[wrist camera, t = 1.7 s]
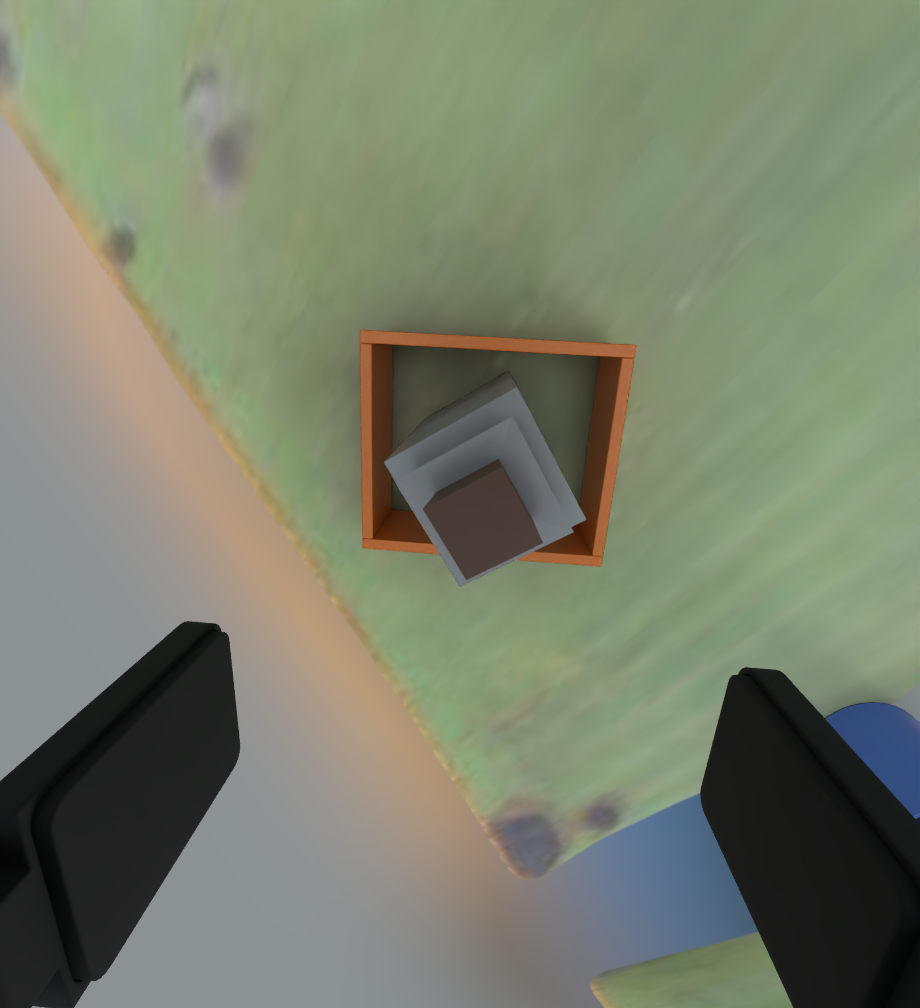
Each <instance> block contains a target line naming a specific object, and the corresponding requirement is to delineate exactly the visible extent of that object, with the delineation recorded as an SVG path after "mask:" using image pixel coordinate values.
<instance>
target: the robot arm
mask: <svg viewBox="0 0 920 1008" xmlns="http://www.w3.org/2000/svg"><path fill="white" fill-rule="evenodd" d="M237 720H238V719H237V710H236V700H235V690H234V681H233V671H232V662H231V652H230V642H229V637H228V635H227V633H225V632H221V628H220V627H219V625H217V624H213V623H202V622H189V621H187V622H184V623H182V624H180V625H179V626H178V627H177V628H175V629H174V630H173V631H172V632H171V633H170V634H169V635H167V636H166V637H165V638H164V639H163V640H162V641H160V643H158V644H157V645H156V646H155V647H154V648H153V649H152V650H150V651H149V652H148V653H147V654H146V655H145V656H143V657H142V658H141V659H140V660H139V661H138V662H136V663H135V664H134V665H133V666H132V667H131V668H130V669H128V670H127V671H126V672H125V673H124V674H123V675H121V676H120V677H119V678H118V679H117V680H116V681H115V682H113V683H112V684H111V685H110V686H109V687H108V688H107V689H106V690H104V691H103V692H102V693H101V694H100V695H99V696H97V697H96V698H95V699H94V700H93V701H92V702H91V703H89V704H88V705H87V706H86V707H85V708H84V709H82V710H81V711H80V712H79V713H78V714H77V715H76V716H75V717H73V718H72V719H71V720H70V721H69V722H68V723H66V724H65V725H64V726H63V727H62V728H61V729H60V730H58V731H57V732H56V733H55V734H54V735H53V736H52V737H50V738H49V739H48V740H47V741H46V742H45V743H43V744H42V745H41V746H40V747H39V748H38V749H37V750H35V751H34V752H33V753H32V754H31V755H30V756H29V757H27V758H26V759H25V760H24V761H23V762H22V763H20V764H19V765H18V766H17V767H16V768H15V769H14V770H13V771H11V772H10V773H9V774H8V775H7V776H6V777H4V778H3V779H2V780H1V781H0V1008H31V1007H32V1006H38V1007H47V1008H74V1007H75V1005H76V1004H77V1002H78V1000H79V999H80V997H81V996H82V994H83V993H84V991H85V990H86V988H87V986H88V985H89V983H90V982H91V981H96V980H98V979H100V978H101V977H102V976H103V975H104V974H105V973H106V972H107V970H108V969H109V968H110V966H111V965H112V963H113V962H114V960H115V958H116V956H117V955H118V953H119V952H120V950H121V949H122V947H123V945H124V944H125V942H126V941H127V938H128V937H129V936H130V934H131V933H132V931H133V929H134V928H135V926H136V924H137V923H138V921H139V920H140V918H141V917H142V915H143V913H144V912H145V910H146V908H147V907H148V905H149V903H150V902H151V900H152V899H153V897H154V896H155V894H156V892H157V891H158V889H159V888H160V886H161V884H162V883H163V881H164V880H165V878H166V876H167V875H168V873H169V871H170V870H171V868H172V867H173V865H174V863H175V862H176V860H177V859H178V857H179V855H180V854H181V852H182V851H183V849H184V847H185V846H186V844H187V843H188V841H189V839H190V838H191V836H192V834H193V833H194V831H195V830H196V828H197V826H198V825H199V823H200V822H201V820H202V818H203V817H204V815H205V814H206V812H207V810H208V809H209V807H210V806H211V804H212V802H213V801H214V799H215V797H216V796H217V794H218V792H219V791H220V790H221V788H222V786H223V784H224V783H225V781H226V780H227V778H228V777H229V775H230V773H231V772H232V770H233V769H234V767H235V765H236V762H237V760H238V756H239V752H240V739H239V730H238V721H237ZM701 803H702V808H703V811H704V814H705V816H706V818H707V820H708V822H709V824H710V827H711V829H712V831H713V833H714V835H715V838H716V840H717V842H718V844H719V846H720V849H721V851H722V853H723V855H724V857H725V859H726V862H727V864H728V866H729V868H730V870H731V872H732V875H733V877H734V879H735V881H736V883H737V886H738V887H739V890H740V892H741V894H742V897H743V899H744V901H745V903H746V905H747V907H748V909H749V912H750V914H751V916H752V918H753V920H754V923H755V925H756V927H757V929H758V931H759V934H760V936H761V938H762V940H763V942H764V944H765V947H766V949H767V951H768V953H769V955H770V958H771V960H772V962H773V964H774V966H775V968H776V971H777V973H778V975H779V977H780V979H781V982H782V984H783V986H784V988H785V990H786V992H787V995H788V997H789V999H790V1001H791V1003H792V1006H793V1008H920V823H919V822H918V821H917V820H916V819H915V818H914V817H913V816H912V814H911V813H910V812H909V811H908V810H907V809H906V808H905V807H904V806H903V804H902V803H901V802H900V801H899V800H898V799H897V798H896V797H895V796H894V795H893V793H892V792H891V791H890V790H889V789H888V788H887V787H886V786H885V785H884V783H883V782H882V781H881V780H880V779H879V778H878V777H877V776H876V775H875V774H874V772H873V771H872V770H871V769H870V768H869V767H868V766H867V765H866V764H865V763H864V761H863V760H862V759H861V758H860V757H859V756H858V755H857V754H856V753H855V751H854V750H853V749H852V748H851V747H850V746H849V745H848V744H847V743H846V742H845V740H844V739H843V738H842V737H841V736H840V735H839V734H838V733H837V732H836V730H835V729H834V728H833V727H832V726H831V725H830V724H829V723H828V722H827V721H826V719H825V718H824V717H823V716H822V715H821V714H820V713H819V712H818V711H817V710H816V708H815V707H814V706H813V705H812V704H811V703H810V702H809V701H808V700H807V698H806V697H805V696H804V695H803V694H802V693H801V692H800V691H799V690H798V689H797V687H796V686H795V685H794V684H793V683H792V682H791V681H790V680H789V679H788V677H787V676H786V675H785V674H783V673H782V672H781V671H778V670H772V669H760V668H748V667H745V668H742V669H741V670H740V672H739V674H738V675H732V676H731V677H730V679H729V682H728V686H727V689H726V693H725V697H724V701H723V705H722V709H721V713H720V716H719V720H718V724H717V728H716V732H715V736H714V740H713V743H712V747H711V751H710V755H709V759H708V763H707V767H706V770H705V774H704V778H703V782H702V786H701Z"/></svg>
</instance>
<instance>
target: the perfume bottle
mask: <svg viewBox="0 0 920 1008" xmlns="http://www.w3.org/2000/svg"><path fill="white" fill-rule="evenodd" d="M384 464H385V465H386V467H387V468H388V470H389V472H390V473H391V475H392V477H393V478H394V480H395V481H394V482H395V483H396V485H397V486H398V488H399V490H400V491H401V493H402V495H403V496H404V498H405V499H406V501H407V503H408V504H409V506H410V507H411V509H412V511H413V512H414V514H415V515H416V517H417V519H418V520H419V522H420V524H421V525H422V527H423V528H424V530H425V532H426V533H427V535H428V536H429V538H430V540H431V541H432V543H433V545H434V546H435V548H436V549H437V551H438V553H439V554H440V556H441V557H442V559H443V561H444V562H445V564H446V565H447V567H448V569H449V570H450V572H451V574H452V575H453V577H454V578H455V580H456V582H457V583H458V585H459V586H462V585H465V584H467V583H469V582H471V581H473V580H475V579H477V578H479V577H481V576H483V575H485V574H487V573H490V572H492V571H494V570H496V569H498V568H500V567H502V566H504V565H506V564H508V563H510V562H512V561H515V560H517V559H519V558H521V557H523V556H525V555H527V554H529V553H531V552H533V551H535V550H537V549H540V548H542V547H544V546H546V545H548V544H550V543H552V542H554V541H556V540H558V539H560V538H562V537H565V536H567V535H569V534H571V533H573V532H574V531H573V530H572V528H571V527H572V526H574V525H576V524H578V523H581V522H583V521H585V520H586V518H585V516H584V514H583V512H582V510H581V508H580V506H579V505H578V503H577V501H576V499H575V497H574V495H573V493H572V491H571V489H570V487H569V485H568V483H567V482H566V480H565V478H564V476H563V474H562V472H561V470H560V468H559V466H558V464H557V462H556V460H555V459H554V457H553V455H552V453H551V451H550V449H549V447H548V445H547V443H546V441H545V439H544V437H543V436H542V434H541V432H540V430H539V428H538V426H537V424H536V422H535V420H534V418H533V416H532V414H531V412H530V411H529V409H528V407H527V405H526V403H525V401H524V399H523V397H522V395H521V393H520V391H519V389H518V388H517V386H516V384H515V382H514V380H513V378H512V376H511V374H510V372H509V371H508V372H506V373H504V374H502V375H501V376H499V377H497V378H495V379H494V380H492V381H490V382H488V383H487V384H485V385H483V386H481V387H480V388H478V389H476V390H474V391H473V392H471V393H469V394H467V395H466V396H464V397H462V398H460V399H459V400H457V401H455V402H454V403H452V404H450V405H448V406H447V407H445V408H443V409H441V410H440V411H438V412H436V413H434V414H433V415H431V416H429V417H427V418H426V419H424V420H423V421H422V422H421V423H420V425H419V426H418V427H417V428H416V429H415V430H414V431H413V432H412V433H411V434H410V435H409V436H408V437H407V438H406V439H405V440H404V441H403V442H402V443H401V444H400V446H399V447H398V448H397V449H396V450H395V451H394V452H393V453H392V454H391V455H390V456H389V457H388V458H387V459H386V460H385V461H384Z"/></svg>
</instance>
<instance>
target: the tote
mask: <svg viewBox="0 0 920 1008" xmlns="http://www.w3.org/2000/svg"><path fill="white" fill-rule="evenodd" d="M360 343H361V344H360V373H361V462H362V537H363V539H362V548H366V549H379V550H392V551H405V552H418V553H431V554H439V553H438V551H437V549H436V548H435V546H434V545H433V543H432V541H431V540H430V538H429V536H428V535H427V533H426V532H425V530H424V528H423V527H422V525H421V524H420V522H419V520H418V519H417V517H416V515H415V514H414V512H413V511H401V510H391V487H392V475H391V473H390V472H389V470H388V468H387V467H386V465H385V464H384V461H385V460H386V459H387V458H388V457H389V456H390V455H391V454H392V372H393V345H407V346H425V347H443V348H461V349H478V350H496V351H514V352H532V353H550V354H568V355H586V356H600V360H599V367H598V374H597V382H596V389H595V396H594V404H593V411H592V418H591V425H590V433H589V440H588V447H587V455H586V462H585V469H584V477H583V484H582V491H581V499H580V508H581V510H582V512H583V514H584V516H585V518H586V520H585V521H583V522H581V523H578V524H576V525H574V526H572V527H571V528H572V530H573V531H574V532H573V533H571V534H569V535H567V536H565V537H562V538H560V539H558V540H556V541H554V542H552V543H550V544H548V545H546V546H544V547H542V548H540V549H537V550H535V551H533V552H531V553H529V554H527V555H525V556H523V557H521V558H519V559H517V560H522V561H535V562H548V563H561V564H574V565H587V566H600V567H601V566H602V560H603V554H604V547H605V541H606V535H607V528H608V522H609V516H610V509H611V503H612V497H613V490H614V484H615V478H616V471H617V465H618V459H619V452H620V446H621V440H622V433H623V427H624V421H625V414H626V408H627V402H628V395H629V389H630V383H631V376H632V370H633V364H634V357H635V352H636V345H629V344H610V343H592V342H574V341H555V340H537V339H519V338H500V337H482V336H464V335H445V334H427V333H409V332H390V331H372V330H360Z"/></svg>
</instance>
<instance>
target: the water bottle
mask: <svg viewBox="0 0 920 1008" xmlns="http://www.w3.org/2000/svg"><path fill="white" fill-rule="evenodd" d="M826 721H827V722H828V723H829V724H830V725H831V726H832V727H833V728H834V729H835V730H836V732H837V733H838V734H839V735H840V736H841V737H842V738H843V739H844V740H845V742H846V743H847V744H848V745H849V746H850V747H851V748H852V749H853V750H854V751H855V753H856V754H857V755H858V756H859V757H860V758H861V759H862V760H863V761H864V763H865V764H866V765H867V766H868V767H869V768H870V769H871V770H872V771H873V772H874V774H875V775H876V776H877V777H878V778H879V779H880V780H881V781H882V782H883V783H884V785H885V786H886V787H887V788H888V789H889V790H890V791H891V792H892V793H893V795H894V796H895V797H896V798H897V799H898V800H899V801H900V802H901V803H902V804H903V806H904V807H905V808H906V809H907V810H908V811H909V812H910V813H911V814H912V816H913V817H914V818H915V819H916V820H917V821H918V822H919V823H920V722H918V721H917V720H916V719H915V718H914V717H913V716H912V715H910V714H909V713H908V712H906V711H905V710H903V709H901V708H899V707H896V706H893V705H889V704H885V703H862V704H857V705H853V706H849V707H846V708H844V709H841V710H839V711H837V712H835V713H833V714H832V715H830V716H828V717H827V718H826Z"/></svg>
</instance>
